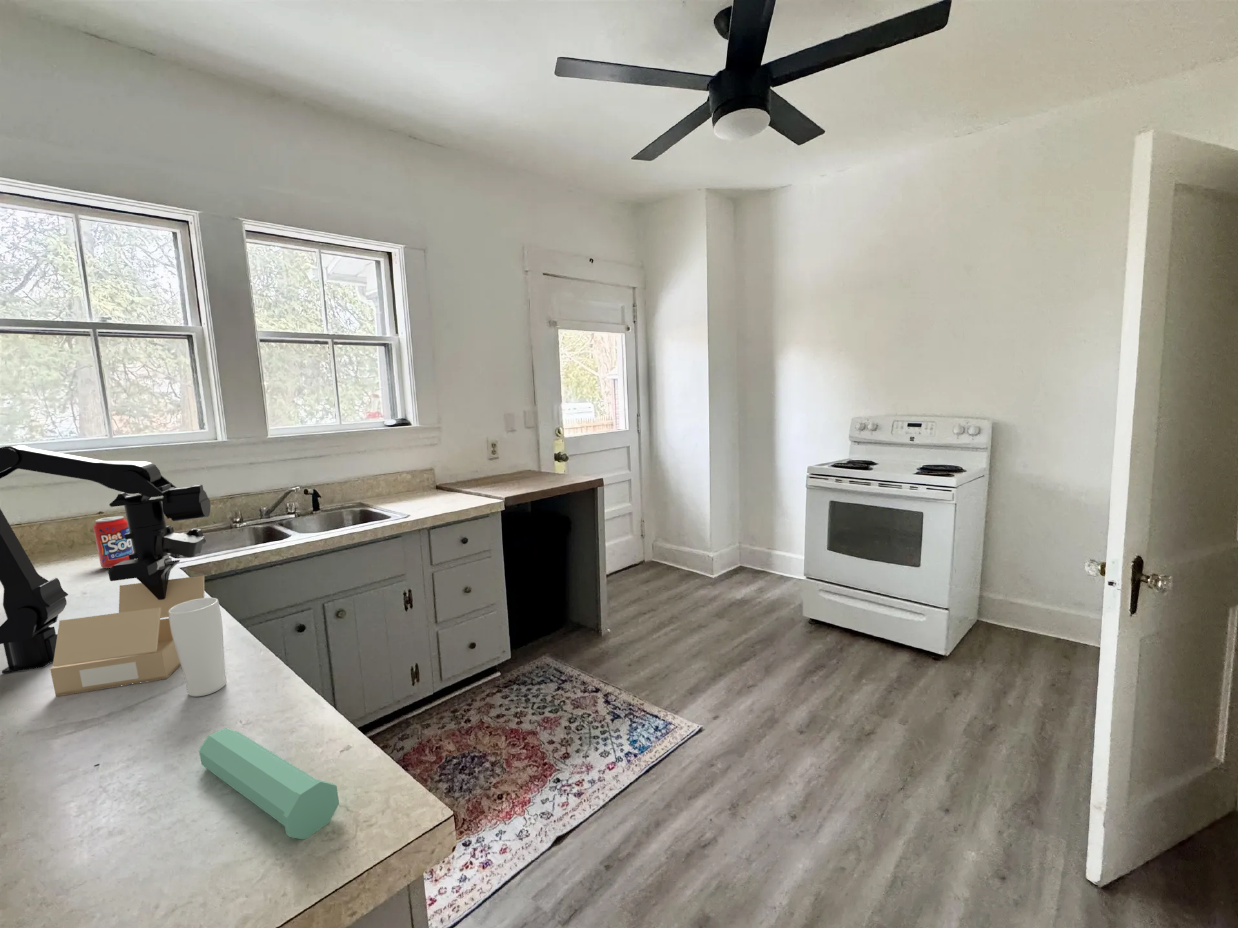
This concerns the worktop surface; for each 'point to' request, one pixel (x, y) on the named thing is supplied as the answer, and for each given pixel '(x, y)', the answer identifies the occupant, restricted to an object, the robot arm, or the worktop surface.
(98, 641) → the flap
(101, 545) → the soda can
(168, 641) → the carton
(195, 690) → the drinking glass
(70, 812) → the worktop surface
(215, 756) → the green octagonal rod
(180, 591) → the flap
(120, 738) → the worktop surface
